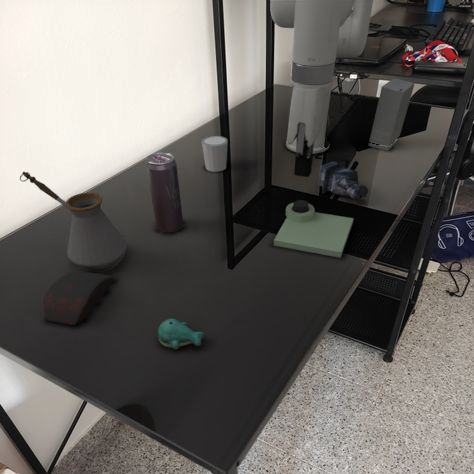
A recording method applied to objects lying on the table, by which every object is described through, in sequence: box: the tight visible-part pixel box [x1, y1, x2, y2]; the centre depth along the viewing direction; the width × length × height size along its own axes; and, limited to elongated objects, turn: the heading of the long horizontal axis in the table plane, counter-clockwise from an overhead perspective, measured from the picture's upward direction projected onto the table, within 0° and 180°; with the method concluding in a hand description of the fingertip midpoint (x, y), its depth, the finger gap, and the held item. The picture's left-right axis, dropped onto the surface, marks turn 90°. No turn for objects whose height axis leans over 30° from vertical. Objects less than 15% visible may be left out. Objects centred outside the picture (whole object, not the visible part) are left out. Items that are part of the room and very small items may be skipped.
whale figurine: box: [157, 318, 205, 350], centre depth 69 cm, size 6×7×4 cm
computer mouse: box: [42, 271, 114, 326], centre depth 77 cm, size 8×14×4 cm, turn 165°
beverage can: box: [145, 152, 184, 234], centre depth 90 cm, size 6×6×15 cm
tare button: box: [292, 199, 309, 213], centre depth 94 cm, size 3×3×2 cm
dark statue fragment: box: [317, 160, 369, 201], centre depth 102 cm, size 6×13×6 cm, turn 43°
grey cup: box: [201, 135, 228, 173], centre depth 114 cm, size 7×7×7 cm
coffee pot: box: [19, 171, 128, 273], centre depth 83 cm, size 21×12×15 cm, turn 59°
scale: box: [273, 202, 354, 259], centre depth 91 cm, size 15×14×3 cm
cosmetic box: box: [368, 78, 415, 152], centre depth 120 cm, size 8×7×16 cm
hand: (302, 174), depth 89 cm, fingers closed
